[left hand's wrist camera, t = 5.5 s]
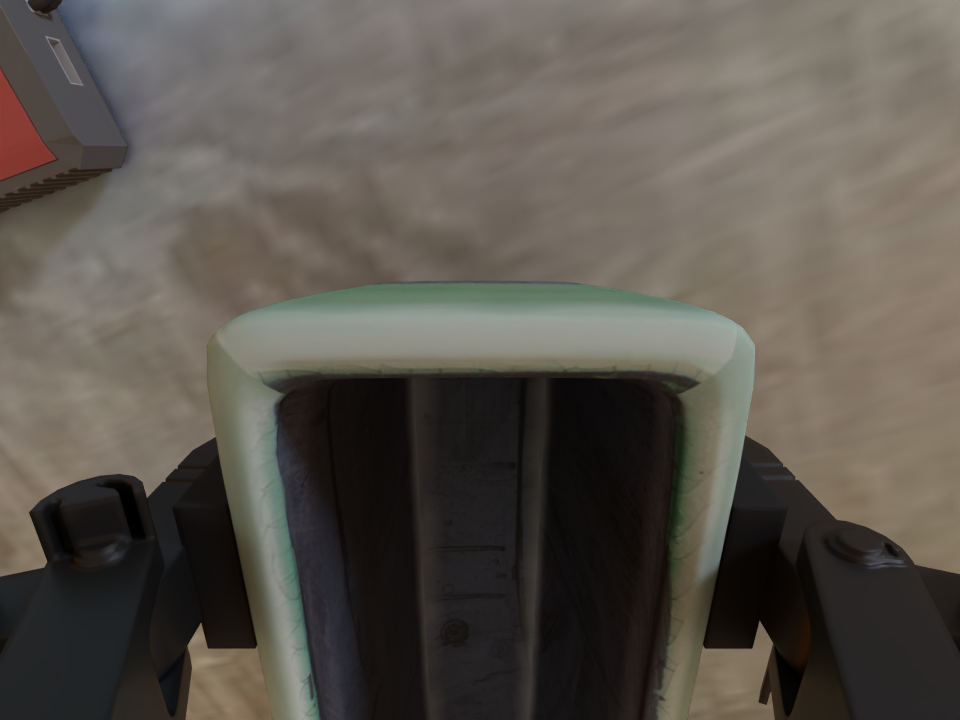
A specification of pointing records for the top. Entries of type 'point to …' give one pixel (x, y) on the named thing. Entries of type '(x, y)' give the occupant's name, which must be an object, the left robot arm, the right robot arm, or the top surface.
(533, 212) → the top surface
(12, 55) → the walkie-talkie
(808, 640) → the left robot arm
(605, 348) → the planter
